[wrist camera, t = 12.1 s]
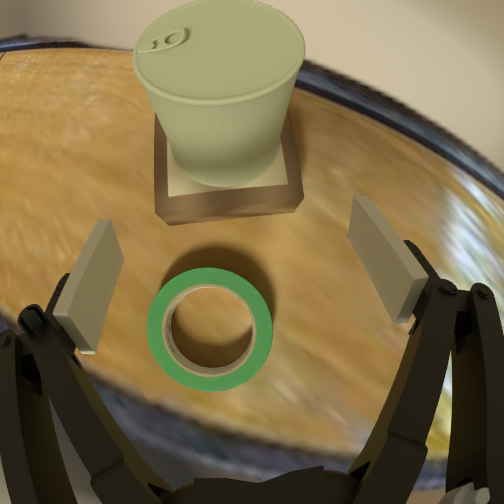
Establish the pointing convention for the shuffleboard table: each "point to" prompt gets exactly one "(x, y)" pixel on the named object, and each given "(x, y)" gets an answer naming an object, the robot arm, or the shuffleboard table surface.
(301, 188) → the plinth
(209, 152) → the can
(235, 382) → the tape roll
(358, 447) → the shuffleboard table surface
